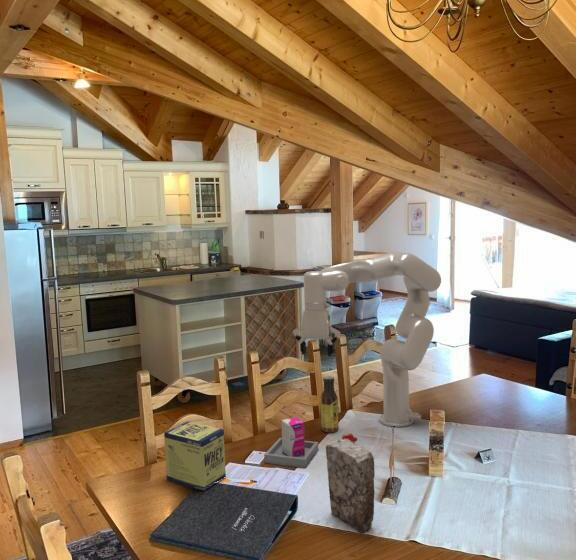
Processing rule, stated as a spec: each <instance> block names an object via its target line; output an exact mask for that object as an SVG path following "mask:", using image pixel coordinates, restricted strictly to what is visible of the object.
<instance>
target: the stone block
mask: <svg viewBox="0 0 576 560" xmlns="http://www.w3.org/2000/svg"><path fill="white" fill-rule="evenodd" d="M325 453H326V454H325V455H326V466H327V468H326V469H327V479H328V492H329V493H328V494H329V504H330V511H331V513H330V514H331V515H332V516H334V518H337V519H338V520H339V521H341V522H342V523H344V524H346V525H347V526H349V527H350V528H351V529H354V530H355V531H356V532H358V533H359V534H365V533H366V532H368V531H369V530H370V528H371V527H372V526H373V525H372V524H373V523H372V522H373V521H374V515H375V492H376V491H375V459H374V455H373V453H372V451H371V450H369V449H367V448H366V447H364V446H362V445H359V444H357V443H356V442H354V443H353V442H351V441H350V440H348V439H336V440H334V441H330V442H327V443H326V446H325Z"/></svg>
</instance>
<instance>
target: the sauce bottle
mask: <svg viewBox="0 0 576 560" xmlns="http://www.w3.org/2000/svg"><path fill="white" fill-rule="evenodd" d="M322 381H323V390H322V392H321V394H320V413H321V414H320V416H321V417H320V418H321V430H322V431H323V432H324V433H335V432H338V430H339V400H338V399H339V398H338V396H337V393H336V390H335V377H334V376H330V375H329V376H328V375H327V376H324V377H322Z"/></svg>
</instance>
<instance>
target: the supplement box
mask: <svg viewBox="0 0 576 560" xmlns="http://www.w3.org/2000/svg"><path fill="white" fill-rule="evenodd" d="M305 433H306V432H305V421H303V420H301V419H300V418H299V417H297V416H294V417H290V418H286V419H281V438H282V453H283V454H285V455H286V456H291V457H297V456H302V455H305V441H306V440H305V436H306V435H305Z"/></svg>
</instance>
